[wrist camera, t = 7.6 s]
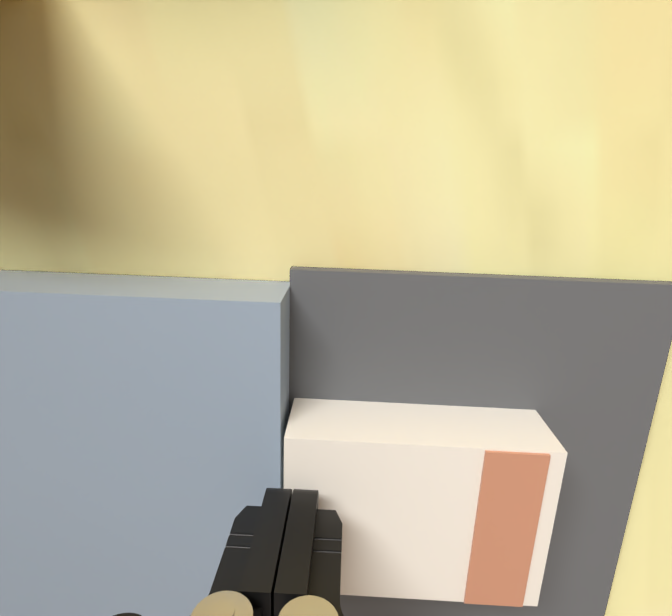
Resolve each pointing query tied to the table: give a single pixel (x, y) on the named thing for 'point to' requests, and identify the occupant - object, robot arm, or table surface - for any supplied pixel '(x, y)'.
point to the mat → (501, 389)
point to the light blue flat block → (133, 435)
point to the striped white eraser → (431, 496)
